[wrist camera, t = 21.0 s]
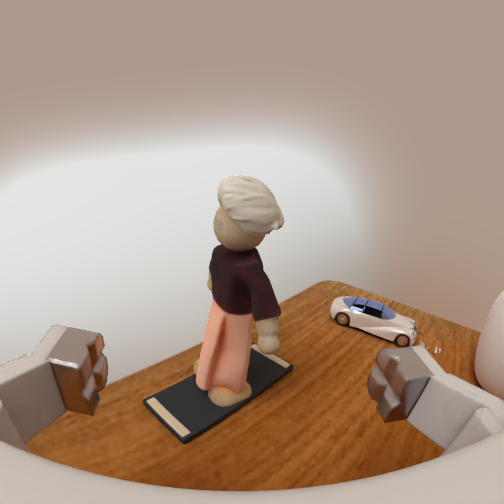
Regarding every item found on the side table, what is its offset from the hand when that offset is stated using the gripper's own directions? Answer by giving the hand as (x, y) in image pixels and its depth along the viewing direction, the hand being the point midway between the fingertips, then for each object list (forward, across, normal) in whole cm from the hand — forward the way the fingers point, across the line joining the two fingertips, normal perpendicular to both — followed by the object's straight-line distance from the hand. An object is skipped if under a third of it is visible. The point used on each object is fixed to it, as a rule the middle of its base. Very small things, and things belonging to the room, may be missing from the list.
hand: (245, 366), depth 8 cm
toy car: (+15, -16, +9) cm, 23 cm away
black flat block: (+8, 0, +9) cm, 12 cm away
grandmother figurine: (+8, 0, +9) cm, 12 cm away
